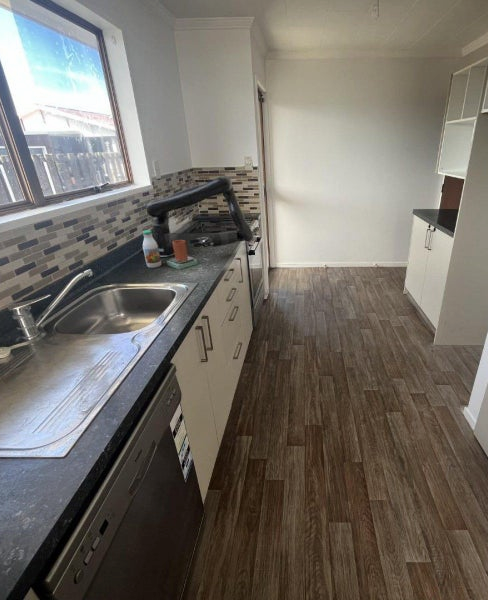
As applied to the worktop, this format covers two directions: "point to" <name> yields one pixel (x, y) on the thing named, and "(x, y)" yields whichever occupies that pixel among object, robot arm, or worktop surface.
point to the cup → (180, 250)
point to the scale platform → (181, 261)
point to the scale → (182, 264)
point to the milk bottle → (151, 250)
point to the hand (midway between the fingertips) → (192, 243)
